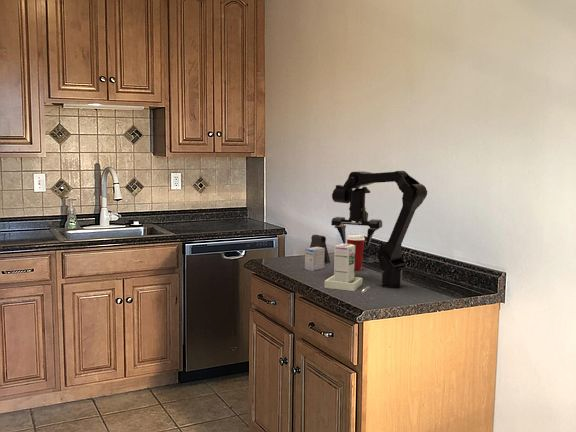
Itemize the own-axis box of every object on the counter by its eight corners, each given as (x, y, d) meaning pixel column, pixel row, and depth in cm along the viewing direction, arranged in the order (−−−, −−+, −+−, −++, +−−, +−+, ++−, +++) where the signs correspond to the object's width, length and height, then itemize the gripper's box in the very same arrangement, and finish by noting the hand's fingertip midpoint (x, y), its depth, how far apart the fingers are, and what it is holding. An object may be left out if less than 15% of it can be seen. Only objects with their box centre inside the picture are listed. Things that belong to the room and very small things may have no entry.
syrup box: (348, 286, 230) (349, 246, 229) (333, 284, 233) (334, 244, 232) (354, 283, 235) (356, 244, 233) (340, 281, 238) (341, 242, 236)
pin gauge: (367, 285, 232) (370, 286, 232) (366, 288, 232) (369, 289, 232) (361, 289, 225) (364, 291, 224) (360, 292, 225) (363, 294, 224)
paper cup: (367, 269, 266) (368, 235, 264) (356, 271, 260) (357, 237, 259) (352, 266, 271) (353, 233, 269) (341, 269, 266) (342, 235, 264)
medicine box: (315, 266, 269) (316, 246, 268) (324, 268, 266) (325, 247, 265) (304, 269, 263) (304, 248, 262) (313, 271, 260) (313, 250, 259)
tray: (362, 284, 237) (362, 277, 237) (354, 291, 227) (354, 283, 227) (333, 281, 241) (333, 274, 241) (324, 287, 231) (324, 280, 231)
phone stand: (314, 265, 273) (315, 237, 271) (305, 262, 277) (306, 235, 276) (330, 262, 278) (331, 235, 277) (321, 260, 283) (321, 233, 281)
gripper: (386, 204, 249) (384, 243, 251) (340, 201, 256) (339, 240, 257) (379, 206, 238) (378, 248, 240) (331, 203, 245) (330, 244, 247)
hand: (356, 245), depth 247 cm, fingers open, 9 cm apart
